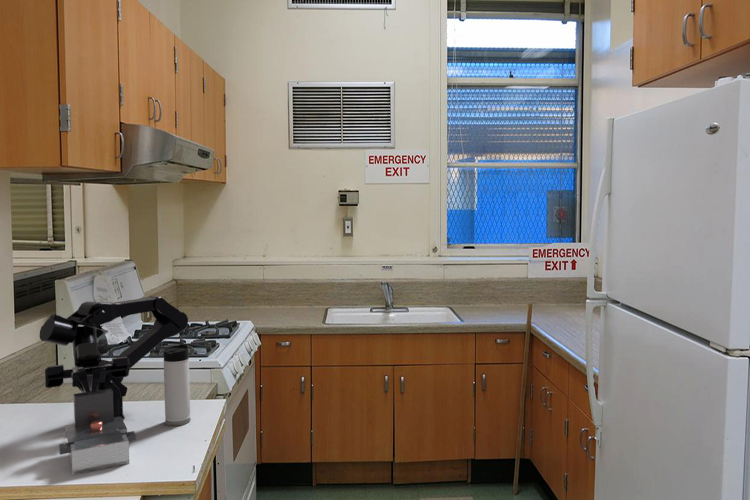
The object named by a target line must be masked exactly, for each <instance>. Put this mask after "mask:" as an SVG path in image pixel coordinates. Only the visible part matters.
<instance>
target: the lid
mask: <svg viewBox="0 0 750 500" xmlns="http://www.w3.org/2000/svg"><path fill="white" fill-rule="evenodd" d="M73 419H74V420H73V422H74V423H72V424H66V425H64V426H65V427H64V428H65V430H64V431H65V435H66V439H67V443H70V442H75V441H81V440H87V439H92V438H98V437H103V436H109V435H114V434H120V433H125V432H128V427H127V426H126V424H125V422H124V419H122V417H121V416H119V417H114V410H113V391H112V389H105V390H98V391H91V392H84V393H83V392H79V393H73Z"/></svg>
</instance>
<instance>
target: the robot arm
mask: <svg viewBox="0 0 750 500" xmlns="http://www.w3.org/2000/svg"><path fill="white" fill-rule="evenodd" d="M149 312H150V314H151V315H152V317H153V318H154V319H155V320H154V322H153V325H152V328H150V329H149V330H148V331H147V332H145V334H143V335H142V336H141V337H139V338H138V339H137V340H136V341H134V342H133V343H132V344H131V345H130V346H128V347H127V348H125V350H124V351H122V352H121V353H120V354H119V355H117V356H116V357H113V358H111V360H105V359H102V354H107V353H108V351H109V344H108V339H107V338H103V339H99V338H100V337H101V336H103V334H104V333H105V332H104V331H103V330H102V329H101V328H98V326H102V325H104V324H107V323H110V322H112V321H114V320H115V319H117V318H121V317H124V316H125V317H126V316H131V315H137V314H143V313H149ZM188 322H189V317H188V315H187V314H186V313H185V312H184V311H183V312H182V311H180V310H179V309H178V308H176V307H175V306H174V305H172V304H170V303H169V302H168V301H166V300H165V298H163V297H162V296H154V295H149V296H148V297H143V298H137V299H129V300H122V301H115V302H107V301H85V302H82V303H81V304H80V306H79V307H78V309H77V310H76V311H75V312H73V313H72V314H71V315H69V316H68V317H63V316H62V315H58V314H53V313H52V314H51V315H50V316H49V318H48V319H46V320H45V322H44V323H43V325H41V327H40V330H39V339H40V341H42V342H45V343H50V344H54V345H58V346H59V345H60V346H63V347H64V346H68V345H70V344H72V353H73V361H74V362H73V363H74V366H73V367H72V368H71V369H64V367H65V366H64V364H58V365H49V366H46V367H45V369H44V382H45V384H44V385H45V386H44V387H45V388H48V389H51V388H57V387H61V386H62V385H63V384H64V379H71V385H72V388H76V387H77V388H78V390H79V391H80V392H81V393H84V392H91V391H98V390H105V389H112V391H113V410H114V417H119V416H121V417H122V419H123V420H124V419H125V418H126V417H125V415H124V406H123V405H124V403H123V400H124V399H123V397H126V396H127V392H128V387H127V386H126V385H124V384H123V383H122V382H123V380H124V378H126V377H128V376H129V375H130V374H129V373H130V369H131V368H133V367H134V366H135V365H136V364H138V363H139V362H140V361H141V360H142V359H143V358H145V357H146V356H147V355H148V354H149V353H150V352H151V351H153V350H154V349H155V348H157V346H158V345H160V344H161V343H162V342H163V341H164V340H166V339H169V338H171V337H174V336H177V335H178V334H180V333H181V332H183V331H184V330H186V329H187V328H188V325H189V324H188ZM93 325H95V326H93ZM98 339H99V340H98Z"/></svg>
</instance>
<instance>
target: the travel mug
mask: <svg viewBox="0 0 750 500" xmlns="http://www.w3.org/2000/svg"><path fill="white" fill-rule="evenodd" d="M163 383H164V385H163V387H164V388H163V390H164V422H165V424H166V426H167V425H168V426H171V427H172V426H173V427H176V426H184V425H186V424H188V423H189V422H190V421H191V392H190V391H191V390H190V388H191V387H190V359H189V346H188V345H187V344H186V343H185V344H184V343H179V344H177V345H171V346H168V347H166V348H164V349H163Z"/></svg>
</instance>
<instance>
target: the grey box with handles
mask: <svg viewBox="0 0 750 500" xmlns="http://www.w3.org/2000/svg"><path fill="white" fill-rule="evenodd" d="M133 441H137V434H136V433H135V431H134V430H133V431H132V430H131V431H127V432H125V433H120V434H114V435H109V436H103V437H98V438H92V439H87V440H81V441H75V442H70V443H68V442H64V443H60V444H58V446H59V454H60V455H64V454H68V455H69V456H68V457H69V458H68V459H69V463H70V468H71V474H72V476H75V475H80V474H84V473H85V474H86V473H90V472H93V471H94V472H95V471H99V470H104V469H105V470H106V469H109V468H113V467H119V466H123V465H128V464H130V443H129V442H133Z"/></svg>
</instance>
